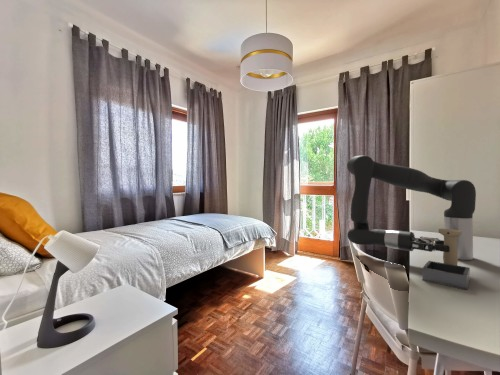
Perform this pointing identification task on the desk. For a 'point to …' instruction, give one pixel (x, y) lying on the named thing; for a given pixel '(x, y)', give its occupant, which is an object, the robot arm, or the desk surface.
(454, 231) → the handle
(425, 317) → the desk surface
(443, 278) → the grey square tray
